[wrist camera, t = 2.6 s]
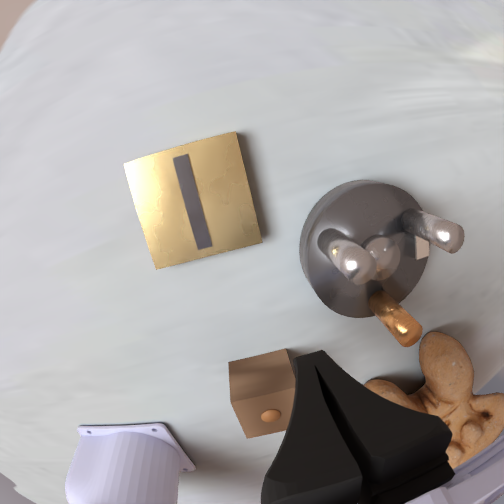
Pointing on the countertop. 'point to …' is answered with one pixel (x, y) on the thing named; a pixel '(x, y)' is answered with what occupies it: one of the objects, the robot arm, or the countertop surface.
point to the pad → (194, 200)
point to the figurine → (450, 397)
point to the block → (262, 392)
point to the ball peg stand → (372, 252)
